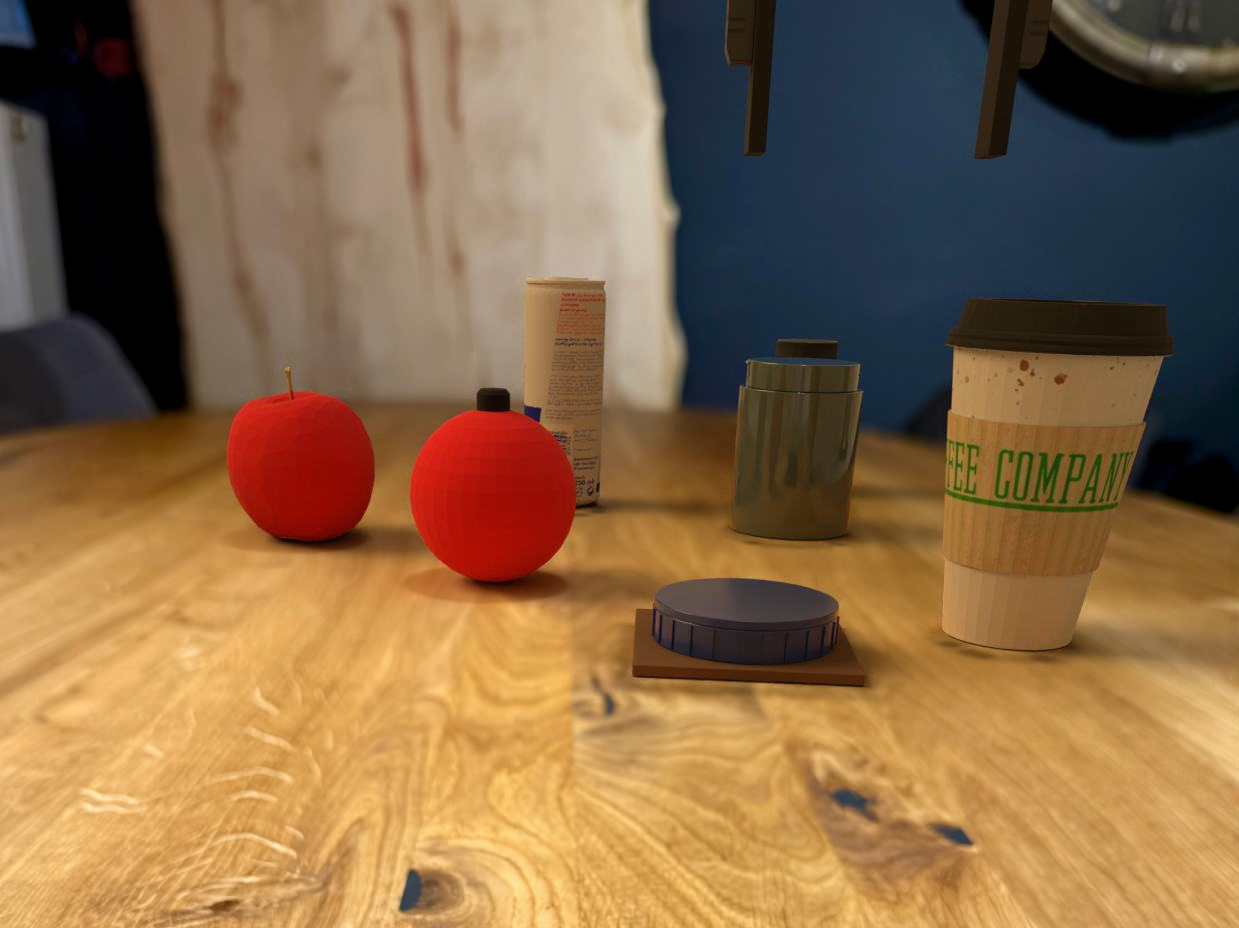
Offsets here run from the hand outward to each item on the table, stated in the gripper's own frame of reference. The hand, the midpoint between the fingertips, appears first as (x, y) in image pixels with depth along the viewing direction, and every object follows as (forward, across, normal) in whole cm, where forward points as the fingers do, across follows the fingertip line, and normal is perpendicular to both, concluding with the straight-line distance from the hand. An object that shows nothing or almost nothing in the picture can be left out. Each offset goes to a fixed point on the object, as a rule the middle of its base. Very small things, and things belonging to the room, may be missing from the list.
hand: (871, 155), depth 56 cm
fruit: (+20, +30, -16) cm, 40 cm away
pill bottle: (+21, -3, -41) cm, 46 cm away
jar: (+21, -1, -24) cm, 32 cm away
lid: (+19, +5, +7) cm, 20 cm away
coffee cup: (+21, -9, +2) cm, 23 cm away
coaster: (+21, +5, +7) cm, 22 cm away
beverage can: (+21, +15, -32) cm, 41 cm away
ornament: (+21, +18, -6) cm, 28 cm away
